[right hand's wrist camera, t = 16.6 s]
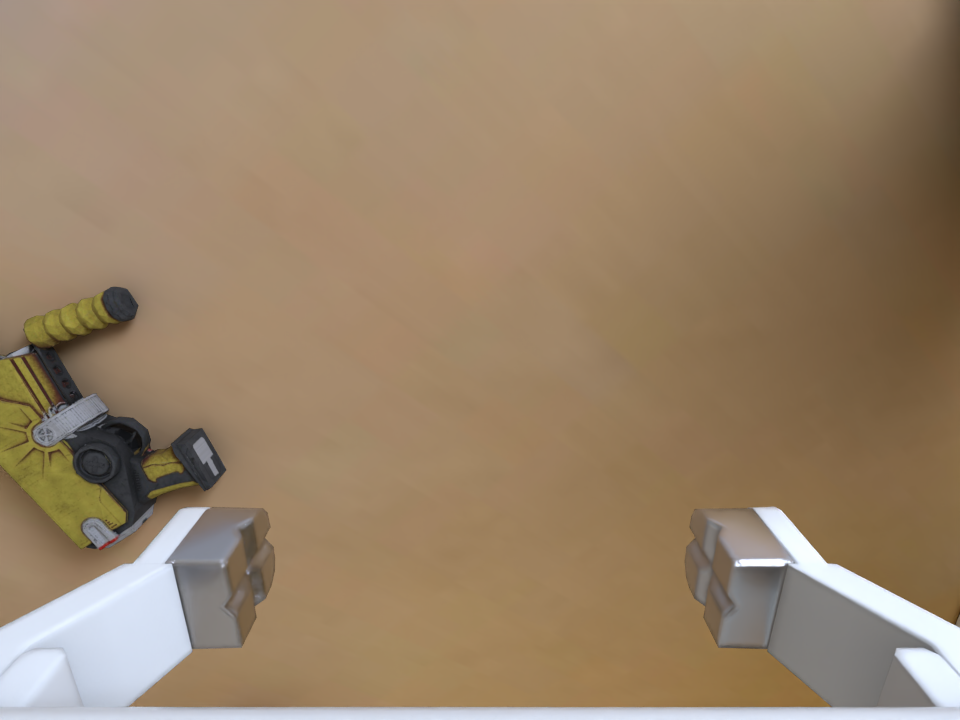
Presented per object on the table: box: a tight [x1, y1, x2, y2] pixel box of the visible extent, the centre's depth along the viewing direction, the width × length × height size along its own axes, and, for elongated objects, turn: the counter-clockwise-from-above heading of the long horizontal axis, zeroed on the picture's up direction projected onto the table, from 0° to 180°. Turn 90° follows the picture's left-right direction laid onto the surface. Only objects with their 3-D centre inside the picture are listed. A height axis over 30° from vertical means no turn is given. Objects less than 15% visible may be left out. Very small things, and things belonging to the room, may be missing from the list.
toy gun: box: [0, 287, 226, 550], centre depth 41 cm, size 5×24×15 cm
